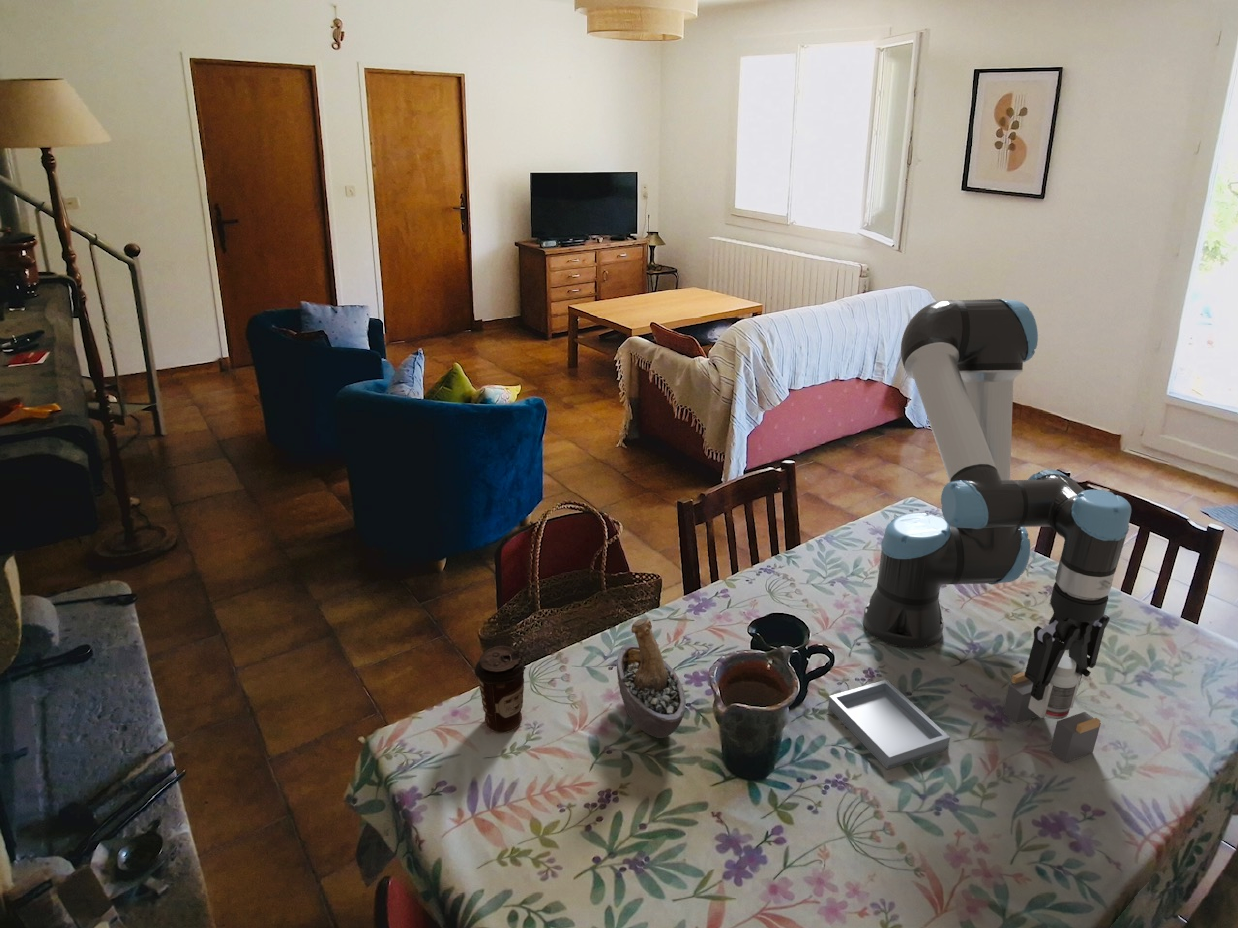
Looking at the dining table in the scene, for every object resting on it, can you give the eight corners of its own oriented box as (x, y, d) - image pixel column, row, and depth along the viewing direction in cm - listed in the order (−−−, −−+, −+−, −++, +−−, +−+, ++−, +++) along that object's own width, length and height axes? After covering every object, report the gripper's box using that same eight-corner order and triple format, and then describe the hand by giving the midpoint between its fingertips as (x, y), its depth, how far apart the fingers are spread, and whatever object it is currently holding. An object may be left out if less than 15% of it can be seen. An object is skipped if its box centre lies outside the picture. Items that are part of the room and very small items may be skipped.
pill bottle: (1075, 712, 139) (1088, 663, 134) (1056, 724, 136) (1069, 676, 132) (1044, 694, 143) (1056, 646, 139) (1025, 706, 140) (1037, 658, 136)
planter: (628, 680, 154) (627, 586, 146) (712, 710, 146) (716, 612, 138) (584, 728, 142) (582, 629, 134) (673, 764, 134) (676, 660, 126)
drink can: (539, 713, 146) (535, 650, 140) (514, 743, 139) (509, 679, 134) (496, 699, 149) (491, 638, 144) (469, 728, 142) (463, 665, 137)
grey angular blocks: (1000, 710, 146) (1007, 676, 143) (1026, 702, 148) (1034, 668, 145) (1067, 764, 134) (1077, 728, 131) (1095, 754, 136) (1105, 719, 133)
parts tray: (828, 707, 147) (829, 695, 146) (884, 690, 151) (886, 679, 150) (887, 769, 133) (889, 757, 132) (947, 749, 137) (950, 736, 136)
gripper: (1056, 614, 123) (1025, 737, 133) (1146, 588, 129) (1110, 707, 139) (1016, 588, 130) (990, 707, 139) (1104, 564, 136) (1073, 680, 145)
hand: (1050, 707), depth 139 cm, fingers closed on pill bottle, 5 cm apart
